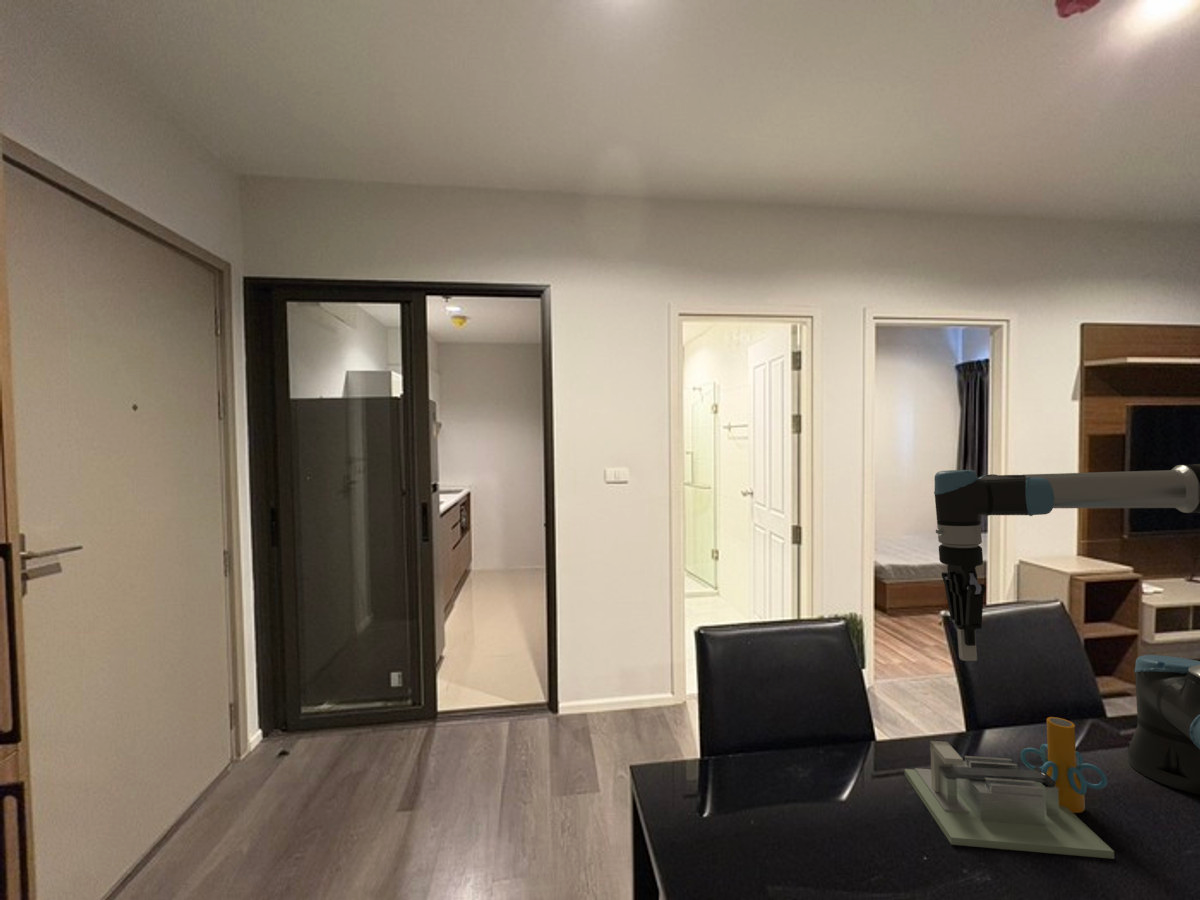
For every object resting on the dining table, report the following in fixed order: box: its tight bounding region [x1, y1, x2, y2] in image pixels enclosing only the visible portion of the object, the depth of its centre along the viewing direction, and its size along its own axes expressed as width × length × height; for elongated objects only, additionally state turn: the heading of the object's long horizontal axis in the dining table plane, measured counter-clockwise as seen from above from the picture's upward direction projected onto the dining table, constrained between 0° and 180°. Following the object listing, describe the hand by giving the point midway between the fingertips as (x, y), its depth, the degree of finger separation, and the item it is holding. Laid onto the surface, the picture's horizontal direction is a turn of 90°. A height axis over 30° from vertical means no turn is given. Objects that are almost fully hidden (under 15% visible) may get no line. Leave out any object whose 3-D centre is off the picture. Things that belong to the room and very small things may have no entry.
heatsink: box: [940, 755, 1059, 826], centre depth 98 cm, size 18×10×6 cm, turn 81°
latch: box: [929, 740, 964, 793], centre depth 100 cm, size 3×6×9 cm, turn 171°
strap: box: [939, 766, 1056, 787], centre depth 98 cm, size 18×4×1 cm, turn 81°
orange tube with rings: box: [1020, 716, 1108, 814], centre depth 100 cm, size 12×10×15 cm
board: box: [904, 767, 1115, 859], centre depth 98 cm, size 24×20×2 cm
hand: (968, 659), depth 110 cm, fingers closed
